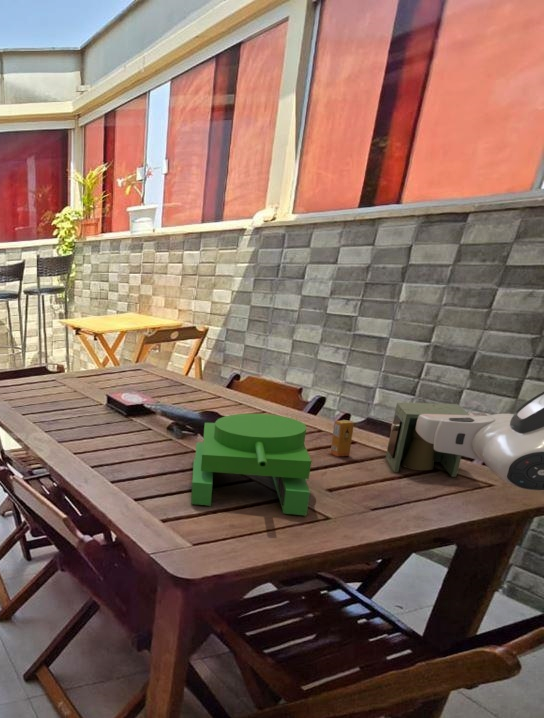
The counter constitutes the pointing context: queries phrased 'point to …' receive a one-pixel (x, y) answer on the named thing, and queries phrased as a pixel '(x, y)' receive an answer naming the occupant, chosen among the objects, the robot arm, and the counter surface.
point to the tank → (255, 456)
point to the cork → (419, 453)
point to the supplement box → (342, 438)
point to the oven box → (402, 437)
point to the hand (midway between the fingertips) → (476, 416)
